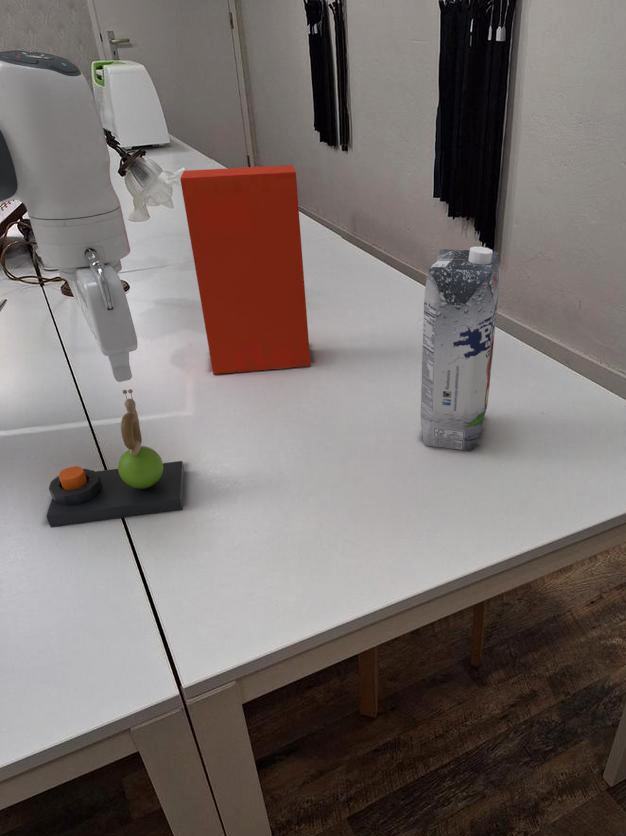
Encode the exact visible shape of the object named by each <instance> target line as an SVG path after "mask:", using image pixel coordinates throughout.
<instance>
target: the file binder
mask: <svg viewBox="0 0 626 836" xmlns="http://www.w3.org/2000/svg"><path fill="white" fill-rule="evenodd" d="M179 179H180V186H181V191H182V197H183V198H182V199H183V204H184V208H185V209H184V210H185V213H186V214H185V216H186V222H187V227H188V233H189V239H190V245H191V251H192V257H193V263H194V269H195V275H196V279H197V286H198V292H199V299H200V305H201V310H202V316H203V322H204V328H205V333H206V340H207V345H208V352H209V358H210V364H211V369H212V374H213V375H219V374H220V375H221V374H231V373H243V372H256V371H265V370H266V371H267V370H268V371H269V370H278V369H290V368H302V367H310V366H312V365H311V353H310V339H309V327H308V326H309V325H308V314H307V302H306V301H307V299H306V287H305V273H304V263H303V262H304V261H303V252H302V251H303V249H302V248H303V247H302V235H301V223H300V222H301V221H300V210H299V209H300V208H299V197H298V196H299V195H298V182H297V173H296V170H295V167H294V165H293V164H286V165H285V164H284V165H266V166H247V167H246V166H245V167H230V168H229V167H227V168H213V169H212V168H211V169H209V168H208V169H191V170H190V169H189V170H188V169H187V170H183V172H182V174H181V175H180V178H179Z"/></svg>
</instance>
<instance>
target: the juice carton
mask: <svg viewBox="0 0 626 836" xmlns="http://www.w3.org/2000/svg"><path fill="white" fill-rule="evenodd" d="M499 266H500V265H499V252H497V251H493V249H491V248H489V247H484V246H472V247H470V248H469V249H449V248H448V249H447V248H446V249H445V248H441V249H440V250H439V252H438V254H437V258H436V261H435V262H433V263H432V264H431V265H430V266H429V267H428V270H427V272H426V273H427V274H426V282H425V289H424V298H423V317H422V318H423V319H422V320H423V322H422V355H421V358H422V359H421V384H420V385H421V386H420V387H421V388H420V425H421V432H422V433H421V434H422V439H423V443H424V445H425V446H427V447H435V448H443V449H452V450H460V451H468V452H472V451H474V450H475V448H476V445H477V443H478V441H479V438H480V435H481V431H482V429H483V425H484V420H485V416H486V413H487V408H488V403H489V395H490V386H491V385H490V384H491V374H492V364H493V355H494V345H495V344H494V343H495V334H496V323H497V312H498V303H499V291H500V269H499V268H500V267H499Z"/></svg>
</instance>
